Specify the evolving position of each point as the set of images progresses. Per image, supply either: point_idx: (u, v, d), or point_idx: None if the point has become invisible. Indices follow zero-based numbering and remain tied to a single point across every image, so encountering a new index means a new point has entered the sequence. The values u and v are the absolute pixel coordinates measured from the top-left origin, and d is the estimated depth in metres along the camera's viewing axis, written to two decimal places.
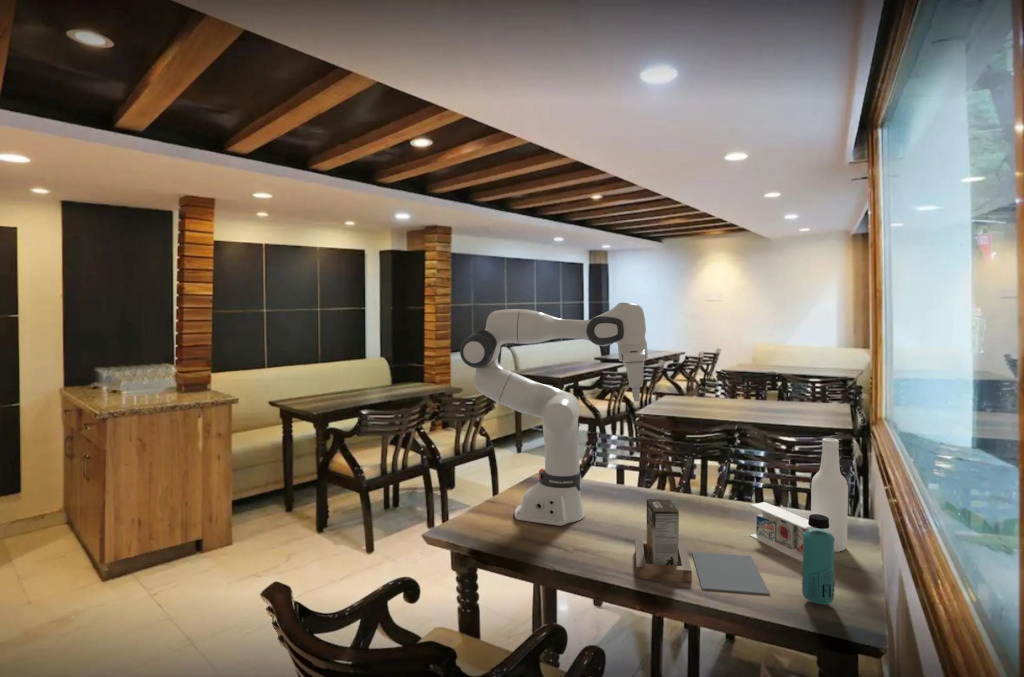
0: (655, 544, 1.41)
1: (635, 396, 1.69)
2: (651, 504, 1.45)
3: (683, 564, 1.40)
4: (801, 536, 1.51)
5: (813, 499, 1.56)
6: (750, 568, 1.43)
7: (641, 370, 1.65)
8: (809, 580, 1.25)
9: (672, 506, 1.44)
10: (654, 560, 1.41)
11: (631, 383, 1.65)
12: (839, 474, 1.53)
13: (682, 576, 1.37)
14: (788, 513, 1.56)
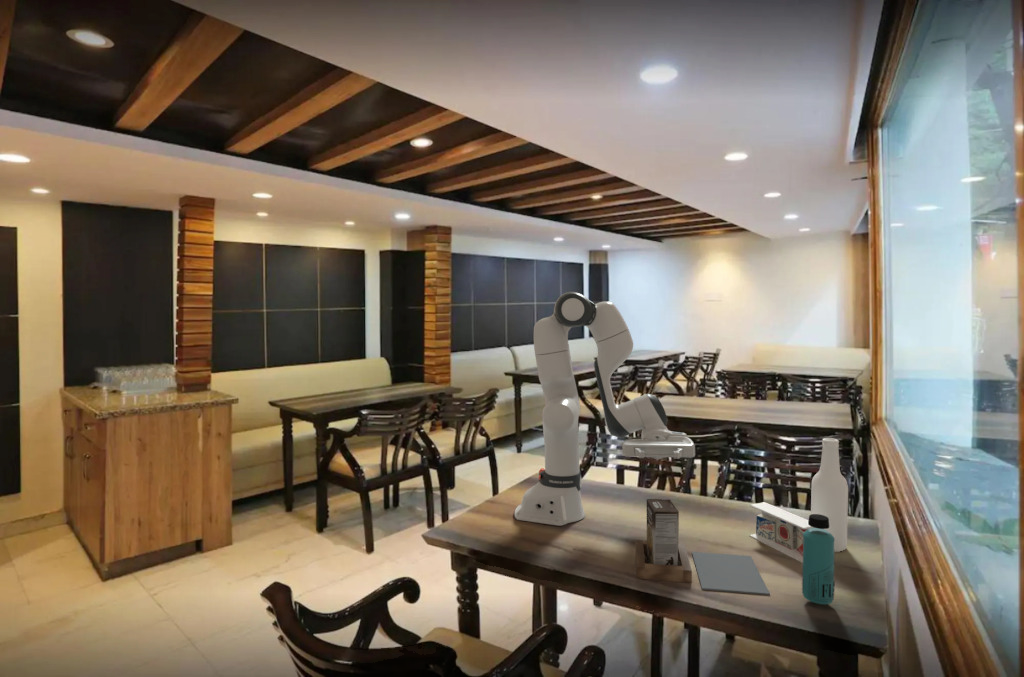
0: (655, 544, 1.41)
1: None
2: (651, 504, 1.45)
3: (683, 564, 1.40)
4: (800, 536, 1.51)
5: (813, 499, 1.56)
6: (750, 568, 1.43)
7: None
8: (809, 580, 1.25)
9: (672, 506, 1.44)
10: (654, 560, 1.41)
11: (694, 445, 1.60)
12: (839, 474, 1.53)
13: (682, 576, 1.37)
14: (788, 513, 1.56)
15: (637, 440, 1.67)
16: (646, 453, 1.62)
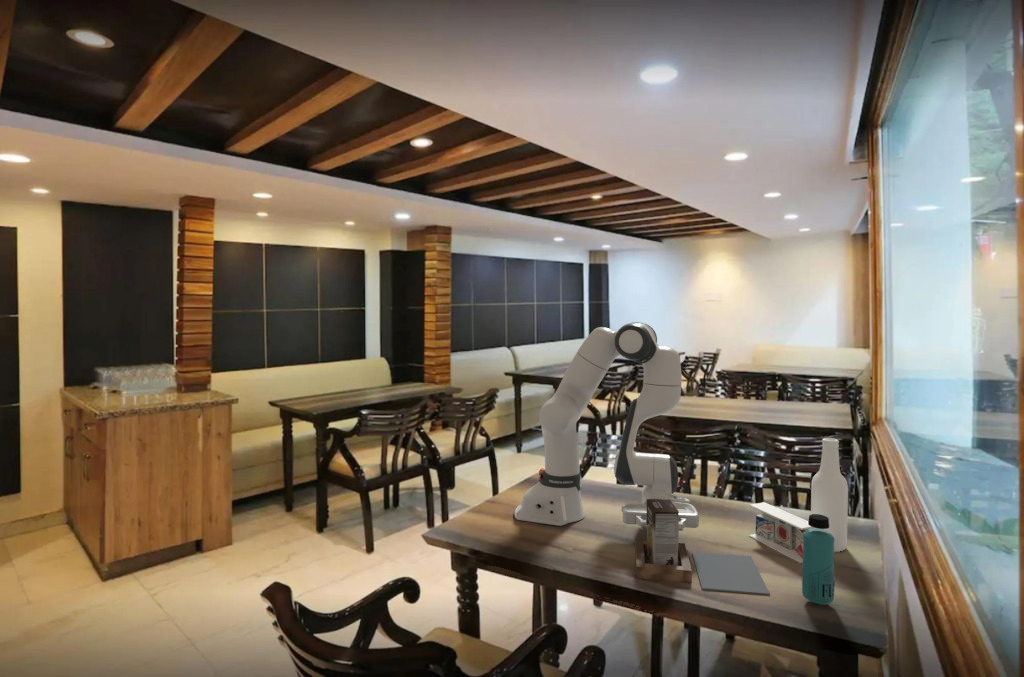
0: (655, 544, 1.41)
1: (682, 524, 1.49)
2: (651, 504, 1.45)
3: (683, 564, 1.40)
4: (799, 537, 1.51)
5: (813, 499, 1.56)
6: (750, 568, 1.43)
7: None
8: (809, 580, 1.25)
9: (672, 506, 1.44)
10: (654, 560, 1.41)
11: (698, 515, 1.52)
12: (839, 474, 1.53)
13: (682, 576, 1.37)
14: (786, 513, 1.56)
15: (638, 505, 1.59)
16: None
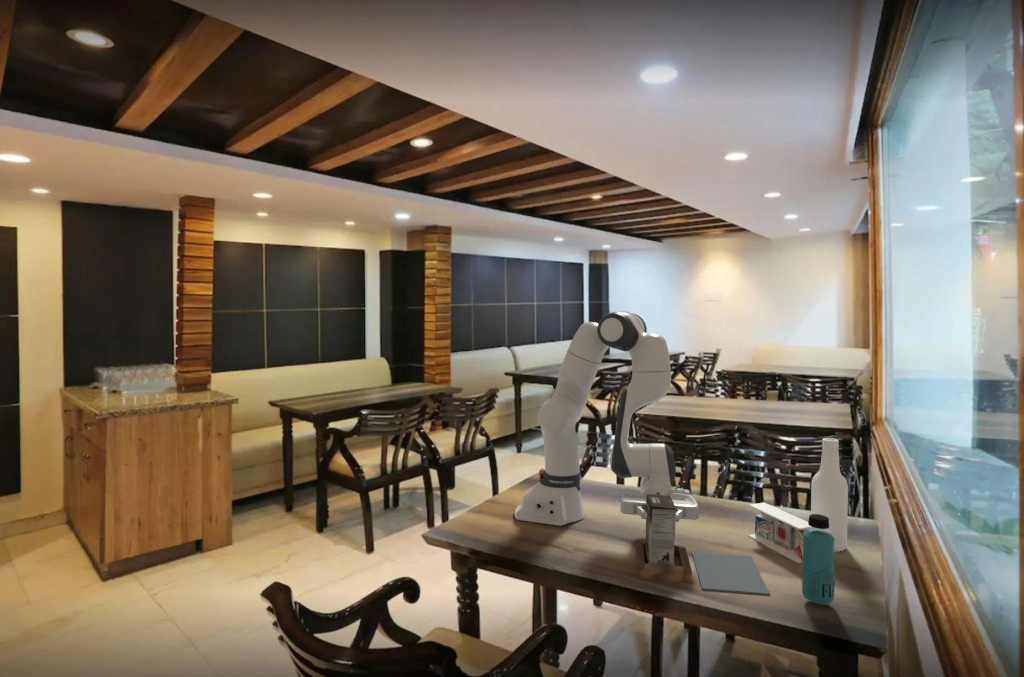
0: (651, 539, 1.41)
1: (679, 515, 1.45)
2: (650, 499, 1.45)
3: (683, 564, 1.40)
4: (797, 537, 1.50)
5: (813, 499, 1.56)
6: (750, 568, 1.43)
7: None
8: (809, 580, 1.25)
9: (670, 502, 1.44)
10: (650, 555, 1.42)
11: (698, 507, 1.48)
12: (839, 474, 1.53)
13: (682, 576, 1.37)
14: (786, 514, 1.56)
15: (636, 495, 1.55)
16: None
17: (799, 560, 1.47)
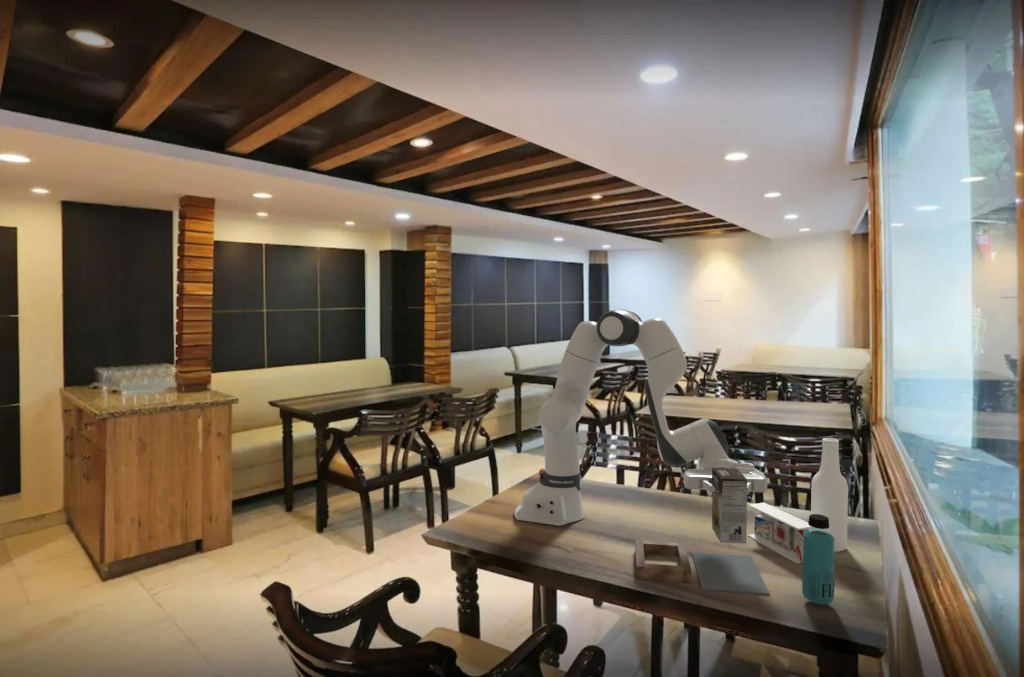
0: (722, 512, 1.37)
1: None
2: (717, 472, 1.41)
3: (683, 564, 1.40)
4: (797, 537, 1.50)
5: (813, 499, 1.56)
6: (750, 568, 1.43)
7: None
8: (809, 580, 1.25)
9: (740, 474, 1.39)
10: (721, 529, 1.37)
11: (766, 479, 1.44)
12: (839, 474, 1.53)
13: (682, 576, 1.37)
14: (785, 514, 1.56)
15: (699, 470, 1.51)
16: None
17: (798, 560, 1.47)
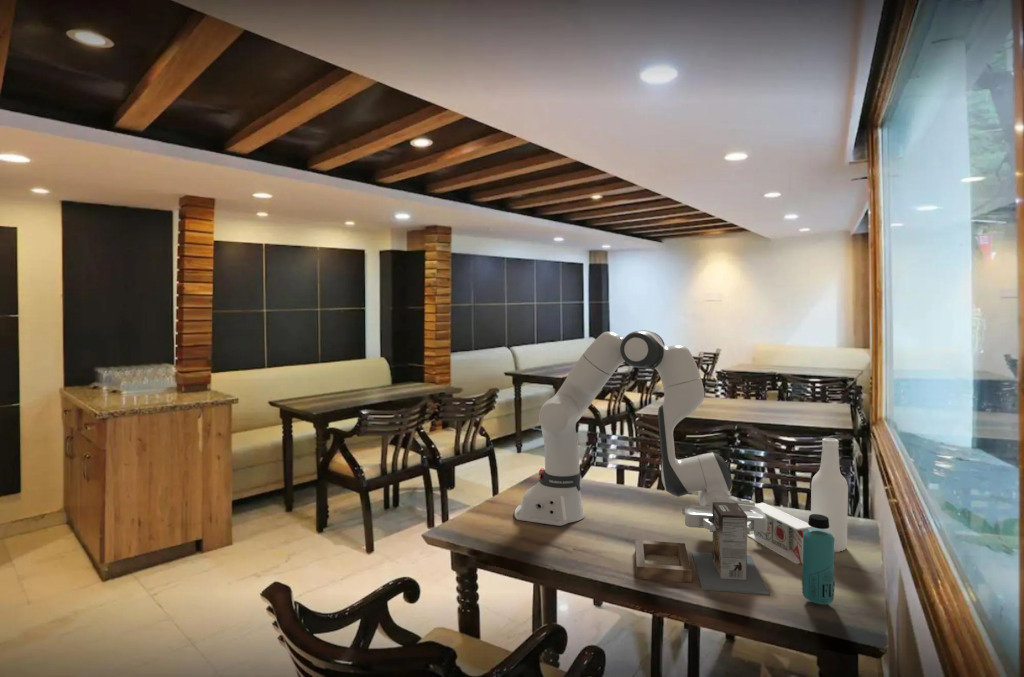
0: (722, 548, 1.37)
1: None
2: (717, 507, 1.41)
3: (683, 564, 1.40)
4: (795, 537, 1.50)
5: (813, 499, 1.56)
6: (750, 568, 1.43)
7: None
8: (809, 580, 1.25)
9: (740, 510, 1.40)
10: (721, 565, 1.38)
11: (766, 518, 1.44)
12: (839, 474, 1.53)
13: (682, 576, 1.37)
14: (784, 514, 1.56)
15: (700, 507, 1.51)
16: None
17: (797, 560, 1.47)
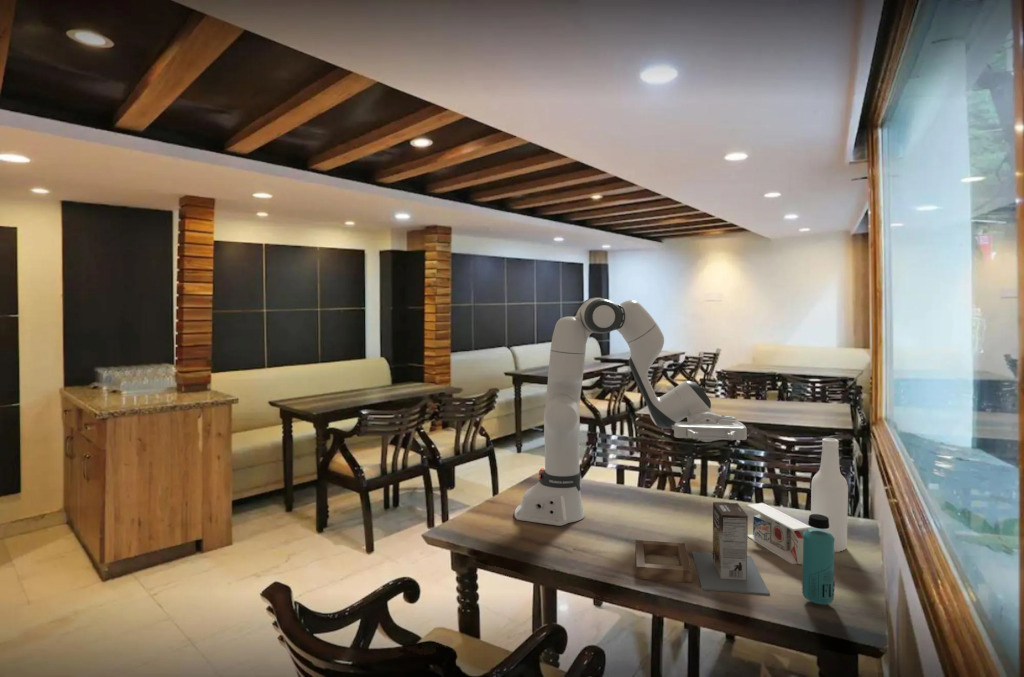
0: (722, 548, 1.37)
1: (732, 435, 1.59)
2: (718, 507, 1.41)
3: (683, 564, 1.40)
4: (793, 538, 1.50)
5: (813, 499, 1.56)
6: (750, 568, 1.43)
7: None
8: (809, 580, 1.25)
9: (740, 510, 1.40)
10: (721, 565, 1.38)
11: (746, 428, 1.63)
12: (839, 474, 1.53)
13: (682, 576, 1.37)
14: (782, 514, 1.55)
15: (687, 423, 1.70)
16: (698, 435, 1.65)
17: (793, 561, 1.47)
